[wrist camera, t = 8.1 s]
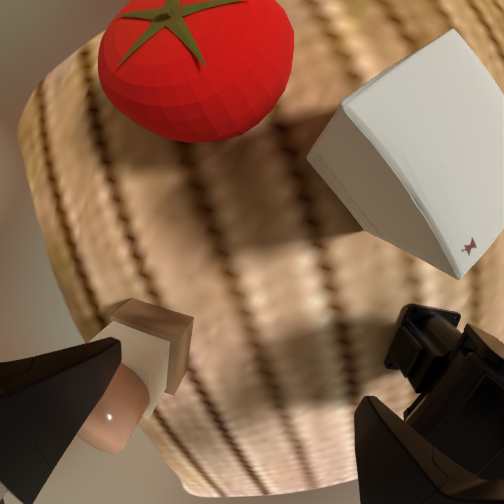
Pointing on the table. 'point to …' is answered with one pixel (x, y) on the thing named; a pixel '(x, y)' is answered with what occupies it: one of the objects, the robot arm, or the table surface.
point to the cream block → (142, 358)
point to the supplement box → (422, 155)
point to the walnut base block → (161, 334)
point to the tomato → (197, 65)
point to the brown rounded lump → (116, 412)
